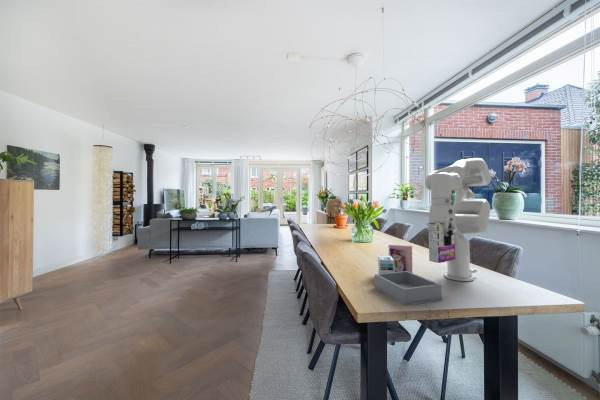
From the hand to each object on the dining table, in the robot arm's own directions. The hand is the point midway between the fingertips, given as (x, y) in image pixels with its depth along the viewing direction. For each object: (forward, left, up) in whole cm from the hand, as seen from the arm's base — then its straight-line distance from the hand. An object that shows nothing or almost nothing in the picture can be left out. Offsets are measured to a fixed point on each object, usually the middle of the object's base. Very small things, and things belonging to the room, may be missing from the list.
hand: (441, 243), depth 110 cm
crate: (+17, -2, -20) cm, 26 cm away
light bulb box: (+13, -21, -20) cm, 32 cm away
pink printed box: (+1, -25, -20) cm, 32 cm away
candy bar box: (0, 0, -7) cm, 7 cm away
